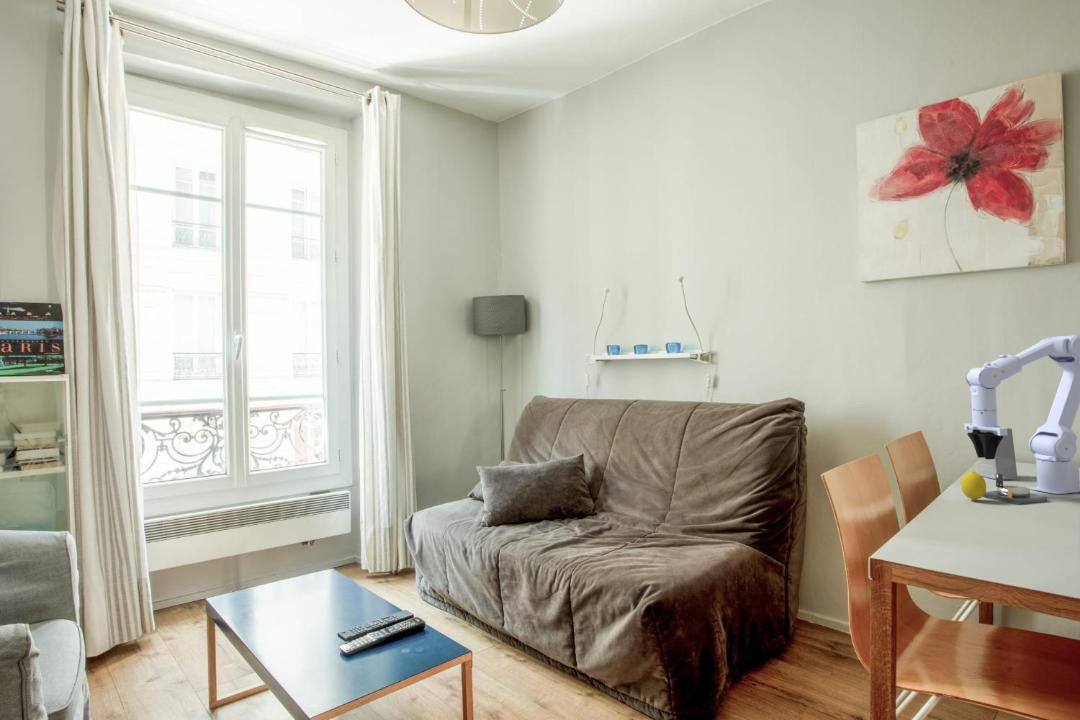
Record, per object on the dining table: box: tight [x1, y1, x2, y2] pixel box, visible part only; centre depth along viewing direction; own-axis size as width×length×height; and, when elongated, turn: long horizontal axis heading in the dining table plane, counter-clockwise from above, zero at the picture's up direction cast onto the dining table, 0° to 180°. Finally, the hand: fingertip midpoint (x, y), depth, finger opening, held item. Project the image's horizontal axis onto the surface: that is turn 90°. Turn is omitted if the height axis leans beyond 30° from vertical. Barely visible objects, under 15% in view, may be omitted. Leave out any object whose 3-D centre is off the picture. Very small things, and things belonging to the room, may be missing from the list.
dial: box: [995, 473, 1031, 497], centre depth 166 cm, size 7×7×5 cm
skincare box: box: [977, 427, 1018, 481], centre depth 193 cm, size 8×7×16 cm
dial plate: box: [982, 490, 1048, 506], centre depth 166 cm, size 10×10×3 cm
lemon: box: [960, 470, 987, 502], centre depth 165 cm, size 6×6×8 cm
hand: (985, 458), depth 173 cm, fingers closed
